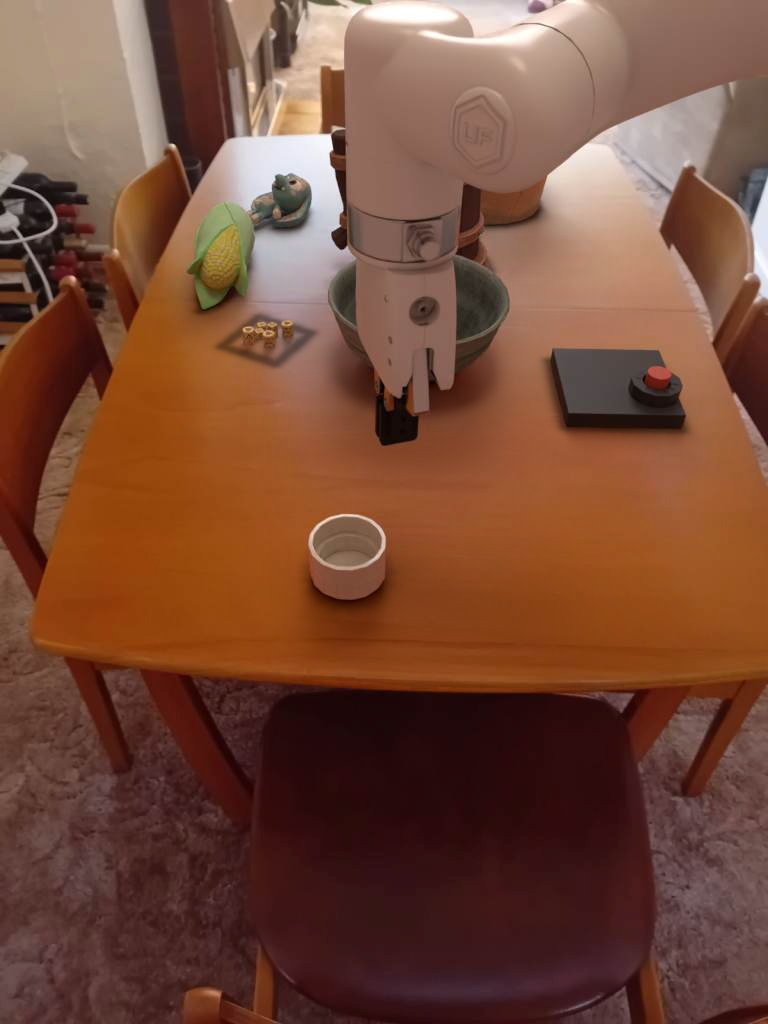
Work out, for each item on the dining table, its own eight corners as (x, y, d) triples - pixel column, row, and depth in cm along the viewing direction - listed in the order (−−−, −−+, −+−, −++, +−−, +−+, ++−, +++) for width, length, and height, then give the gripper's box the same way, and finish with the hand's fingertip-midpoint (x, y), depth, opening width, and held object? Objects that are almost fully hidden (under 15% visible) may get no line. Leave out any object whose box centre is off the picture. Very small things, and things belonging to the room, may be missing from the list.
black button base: (655, 363, 98) (662, 338, 95) (682, 428, 88) (690, 403, 86) (550, 361, 98) (554, 336, 95) (565, 426, 88) (571, 401, 86)
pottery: (549, 179, 138) (563, 90, 128) (558, 236, 122) (575, 139, 112) (425, 173, 139) (430, 84, 129) (418, 229, 123) (423, 132, 113)
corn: (271, 210, 116) (258, 280, 102) (244, 252, 121) (229, 324, 107) (220, 178, 113) (200, 245, 99) (195, 222, 117) (172, 293, 103)
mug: (335, 238, 121) (330, 97, 107) (483, 240, 121) (498, 99, 107) (328, 299, 108) (322, 148, 94) (494, 301, 108) (513, 150, 94)
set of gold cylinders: (296, 335, 101) (295, 322, 100) (274, 354, 98) (272, 341, 97) (263, 324, 103) (262, 311, 102) (240, 343, 100) (238, 330, 99)
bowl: (422, 302, 107) (426, 232, 100) (535, 371, 96) (549, 298, 89) (297, 355, 98) (291, 281, 91) (406, 439, 87) (409, 362, 80)
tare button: (664, 377, 90) (668, 366, 89) (670, 391, 88) (674, 379, 87) (642, 377, 90) (645, 365, 89) (647, 390, 88) (650, 379, 87)
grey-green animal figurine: (221, 184, 121) (281, 150, 125) (234, 225, 127) (291, 192, 131) (262, 206, 116) (324, 170, 120) (274, 249, 121) (332, 213, 125)
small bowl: (371, 540, 76) (371, 506, 72) (395, 592, 71) (396, 559, 68) (303, 557, 74) (299, 523, 71) (323, 611, 69) (320, 578, 66)
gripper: (500, 268, 48) (472, 487, 61) (418, 174, 58) (409, 379, 71) (384, 285, 47) (380, 506, 60) (320, 185, 57) (329, 393, 70)
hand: (396, 436), depth 65 cm, fingers closed
